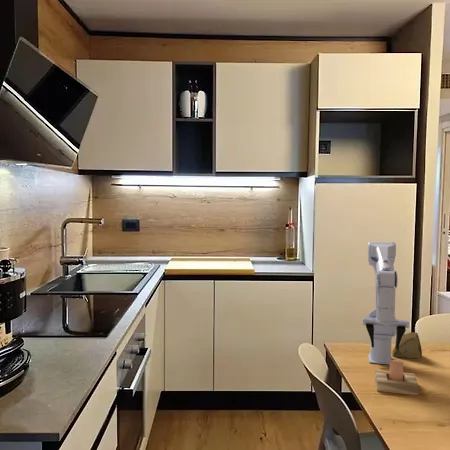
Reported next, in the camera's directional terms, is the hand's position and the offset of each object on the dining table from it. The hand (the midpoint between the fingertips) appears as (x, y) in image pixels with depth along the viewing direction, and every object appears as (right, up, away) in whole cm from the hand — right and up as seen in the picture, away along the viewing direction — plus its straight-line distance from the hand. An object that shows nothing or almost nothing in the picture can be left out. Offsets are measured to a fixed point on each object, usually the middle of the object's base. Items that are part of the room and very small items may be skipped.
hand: (384, 347), depth 158 cm
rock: (+16, -9, +21) cm, 28 cm away
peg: (+1, -10, -8) cm, 13 cm away
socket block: (+1, -10, -8) cm, 13 cm away
